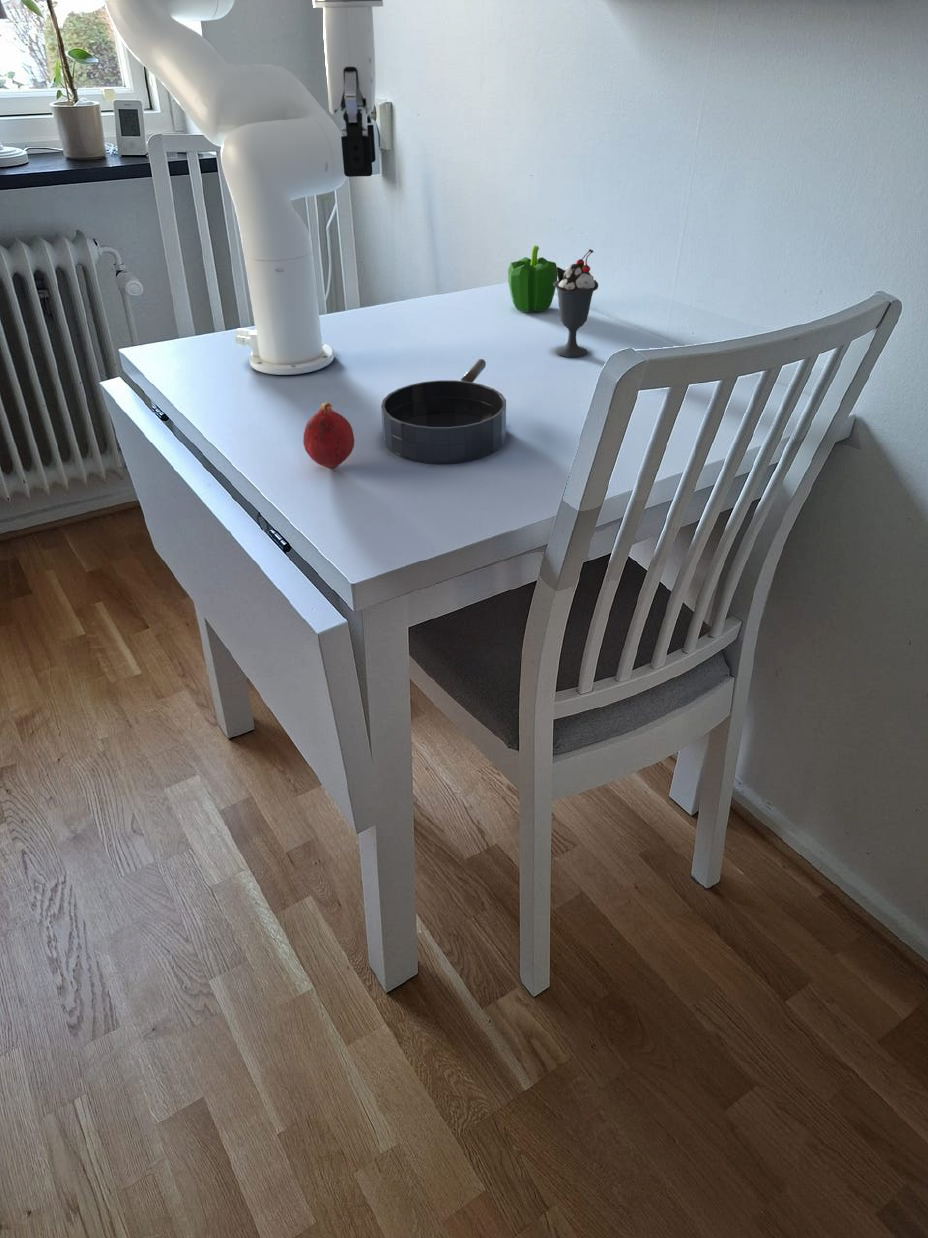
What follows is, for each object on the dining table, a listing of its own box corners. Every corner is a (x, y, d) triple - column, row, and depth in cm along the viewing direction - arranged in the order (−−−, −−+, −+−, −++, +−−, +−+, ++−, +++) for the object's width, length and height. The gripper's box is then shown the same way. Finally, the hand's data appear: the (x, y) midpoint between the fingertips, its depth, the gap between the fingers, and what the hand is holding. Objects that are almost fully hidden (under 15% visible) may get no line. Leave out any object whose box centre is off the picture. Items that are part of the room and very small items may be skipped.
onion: (348, 481, 99) (341, 415, 94) (300, 477, 100) (291, 412, 95) (362, 459, 104) (357, 395, 99) (317, 456, 105) (309, 392, 100)
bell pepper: (541, 319, 147) (544, 256, 141) (500, 311, 150) (500, 250, 144) (564, 306, 152) (568, 245, 146) (524, 299, 156) (525, 240, 150)
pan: (365, 455, 104) (362, 420, 102) (408, 408, 116) (407, 375, 114) (486, 470, 101) (486, 434, 98) (518, 420, 112) (519, 386, 110)
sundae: (600, 356, 131) (609, 251, 123) (559, 361, 130) (564, 255, 121) (583, 342, 136) (590, 241, 128) (543, 347, 135) (547, 245, 126)
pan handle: (467, 392, 112) (466, 382, 111) (456, 391, 112) (456, 381, 112) (487, 367, 119) (487, 357, 119) (477, 367, 120) (477, 357, 119)
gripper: (319, -9, 100) (334, 158, 110) (303, -9, 86) (322, 182, 96) (384, -11, 100) (393, 156, 110) (379, -11, 86) (390, 180, 96)
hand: (360, 168), depth 103 cm, fingers open, 9 cm apart
